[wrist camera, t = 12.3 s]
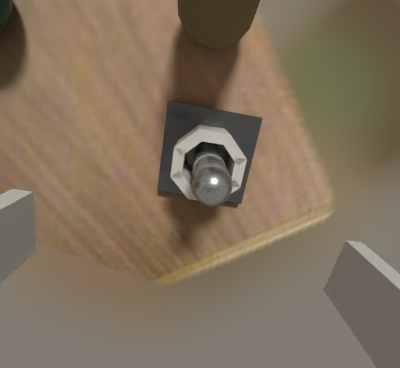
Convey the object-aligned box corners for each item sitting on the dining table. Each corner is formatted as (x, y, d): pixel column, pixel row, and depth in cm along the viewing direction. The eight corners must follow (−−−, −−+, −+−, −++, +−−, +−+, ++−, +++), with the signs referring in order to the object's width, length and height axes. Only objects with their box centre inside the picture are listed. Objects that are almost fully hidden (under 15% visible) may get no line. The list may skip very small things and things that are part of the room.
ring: (173, 179, 32) (167, 196, 26) (181, 121, 29) (176, 125, 24) (229, 188, 32) (236, 206, 27) (242, 131, 30) (252, 137, 24)
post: (158, 187, 34) (129, 247, 20) (169, 100, 30) (142, 97, 16) (239, 200, 34) (267, 267, 20) (260, 117, 30) (312, 128, 16)
